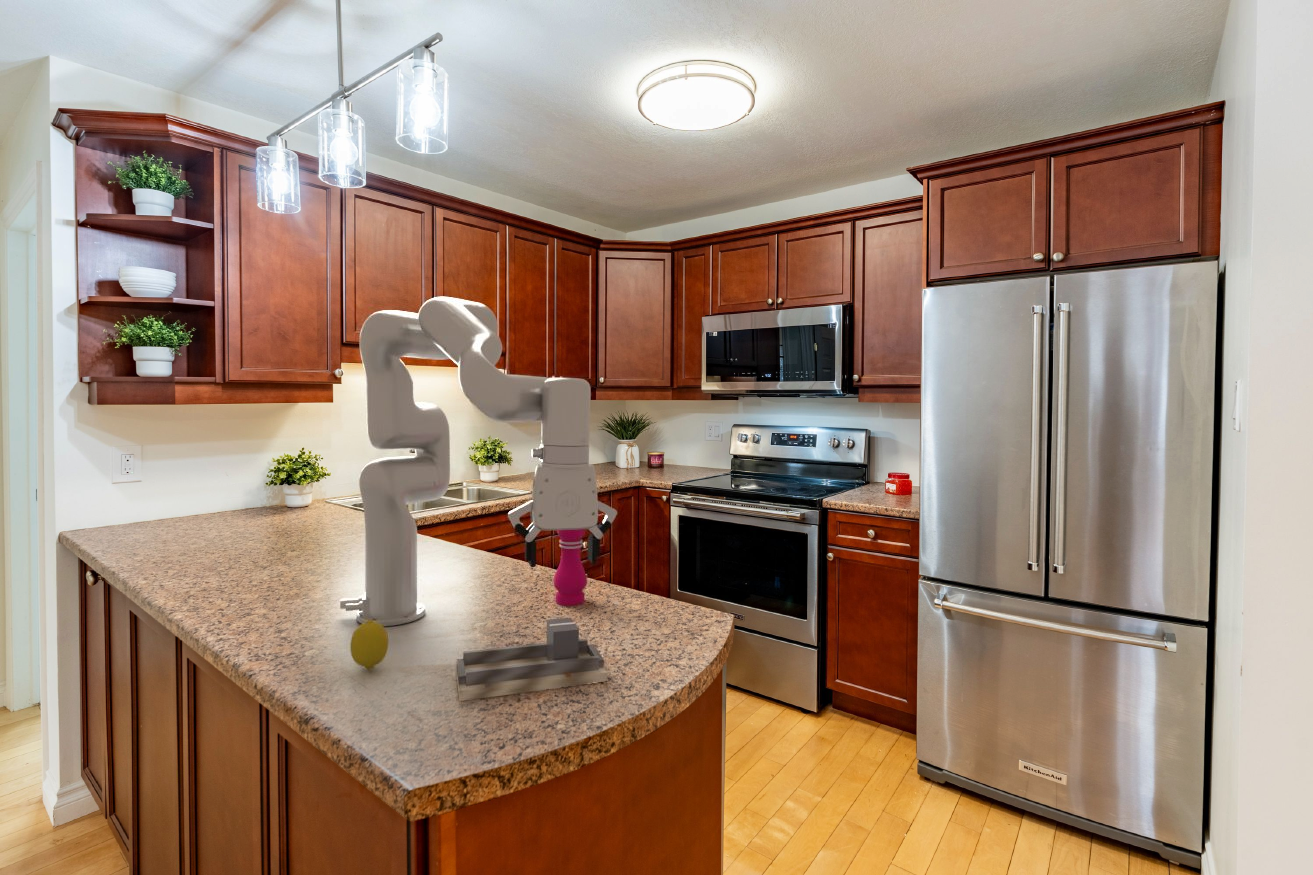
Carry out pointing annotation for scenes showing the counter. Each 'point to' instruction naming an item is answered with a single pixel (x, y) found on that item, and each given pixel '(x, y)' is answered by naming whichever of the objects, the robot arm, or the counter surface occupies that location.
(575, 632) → the fader knob
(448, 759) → the counter surface
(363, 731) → the counter surface
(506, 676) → the fader board
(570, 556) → the pepper mill
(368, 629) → the lemon
